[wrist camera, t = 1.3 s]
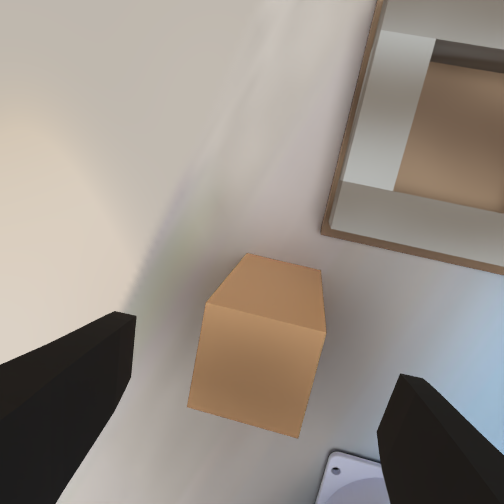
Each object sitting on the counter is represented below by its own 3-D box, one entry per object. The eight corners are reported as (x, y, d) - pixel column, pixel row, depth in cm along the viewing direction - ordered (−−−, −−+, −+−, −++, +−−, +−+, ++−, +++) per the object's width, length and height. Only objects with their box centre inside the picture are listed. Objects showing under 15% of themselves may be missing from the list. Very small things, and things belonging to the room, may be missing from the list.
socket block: (524, 276, 18) (574, 300, 15) (320, 231, 19) (322, 243, 16) (620, 28, 16) (706, -12, 12) (378, -8, 17) (396, -54, 13)
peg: (303, 339, 21) (297, 438, 13) (233, 321, 21) (186, 406, 13) (320, 270, 20) (326, 332, 12) (246, 253, 20) (206, 302, 12)
